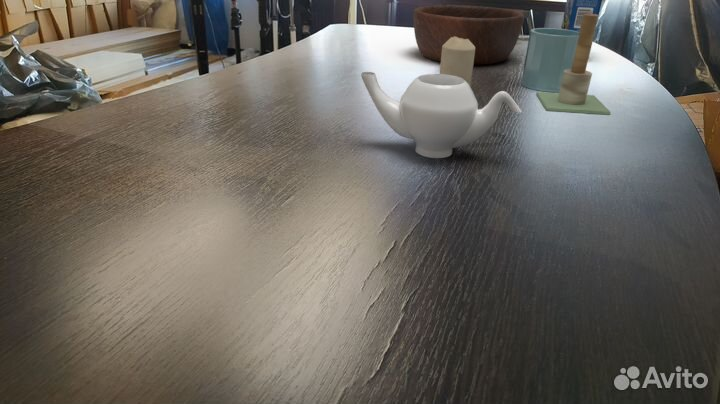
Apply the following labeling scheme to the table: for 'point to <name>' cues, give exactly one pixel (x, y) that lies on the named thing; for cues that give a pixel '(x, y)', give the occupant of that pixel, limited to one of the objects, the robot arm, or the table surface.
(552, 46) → the cup
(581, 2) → the blue food package
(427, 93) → the teapot
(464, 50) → the candle
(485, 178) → the table surface
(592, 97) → the mat
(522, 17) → the wooden bowl
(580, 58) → the brush
